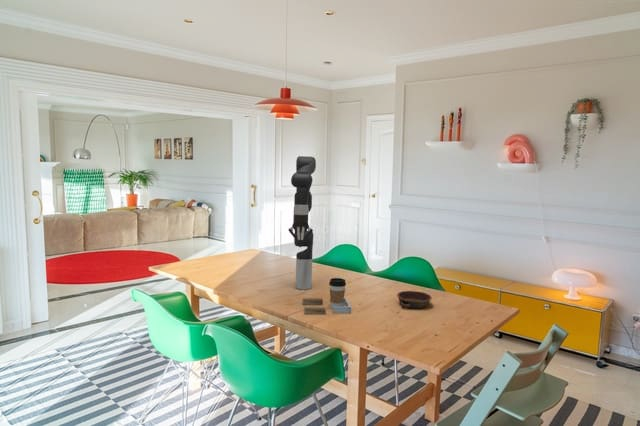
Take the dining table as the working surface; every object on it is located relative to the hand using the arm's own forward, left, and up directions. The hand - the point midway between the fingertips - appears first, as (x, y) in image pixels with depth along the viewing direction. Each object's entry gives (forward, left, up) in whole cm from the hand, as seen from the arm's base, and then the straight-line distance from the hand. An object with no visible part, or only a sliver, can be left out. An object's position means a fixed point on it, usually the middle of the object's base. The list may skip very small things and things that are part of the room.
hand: (300, 246), depth 224 cm
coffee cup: (+10, +19, -29) cm, 36 cm away
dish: (+4, +60, -30) cm, 67 cm away
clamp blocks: (+10, +7, -29) cm, 31 cm away
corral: (+10, +20, -29) cm, 37 cm away
